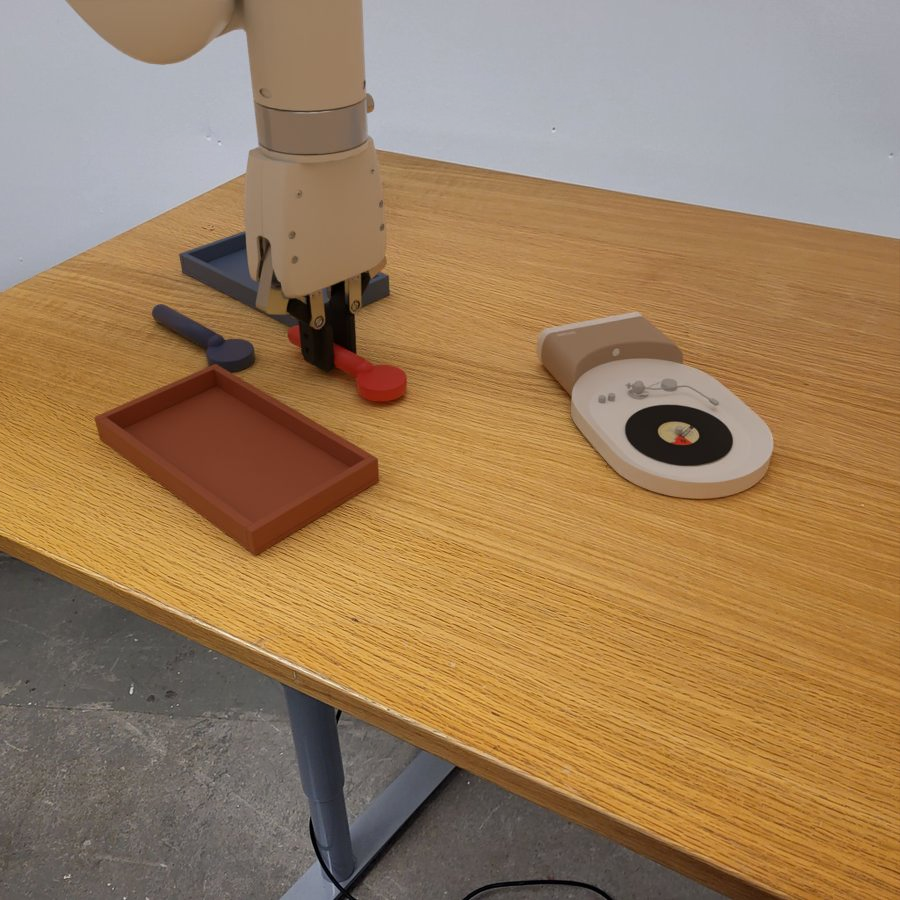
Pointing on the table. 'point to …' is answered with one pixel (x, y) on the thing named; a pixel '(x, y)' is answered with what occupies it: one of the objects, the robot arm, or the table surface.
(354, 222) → the robot arm
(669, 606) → the table surface
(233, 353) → the navy spoon
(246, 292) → the blue tray
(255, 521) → the reddish brown tray
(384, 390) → the red spoon
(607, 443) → the record player
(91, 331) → the table surface
